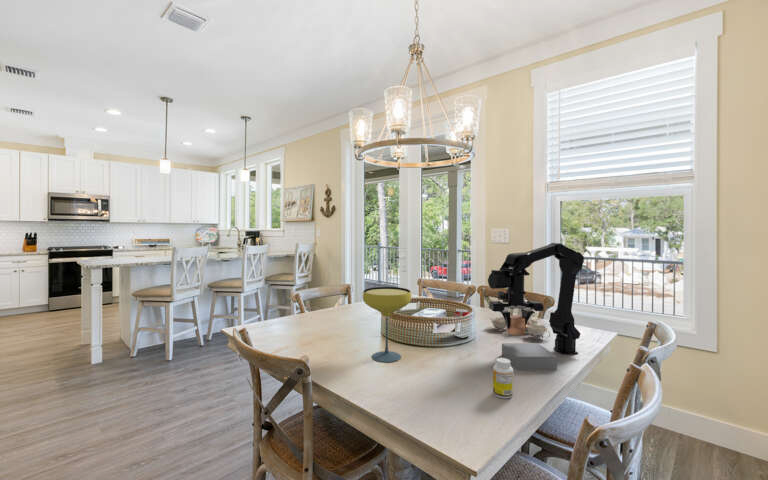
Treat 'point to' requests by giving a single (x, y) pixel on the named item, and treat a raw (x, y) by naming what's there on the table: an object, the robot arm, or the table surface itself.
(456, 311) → the soda can
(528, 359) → the gray block
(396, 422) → the table surface
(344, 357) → the table surface
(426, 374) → the table surface
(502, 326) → the chinaware
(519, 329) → the terracotta cube
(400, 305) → the cocktail glass
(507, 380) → the supplement bottle
